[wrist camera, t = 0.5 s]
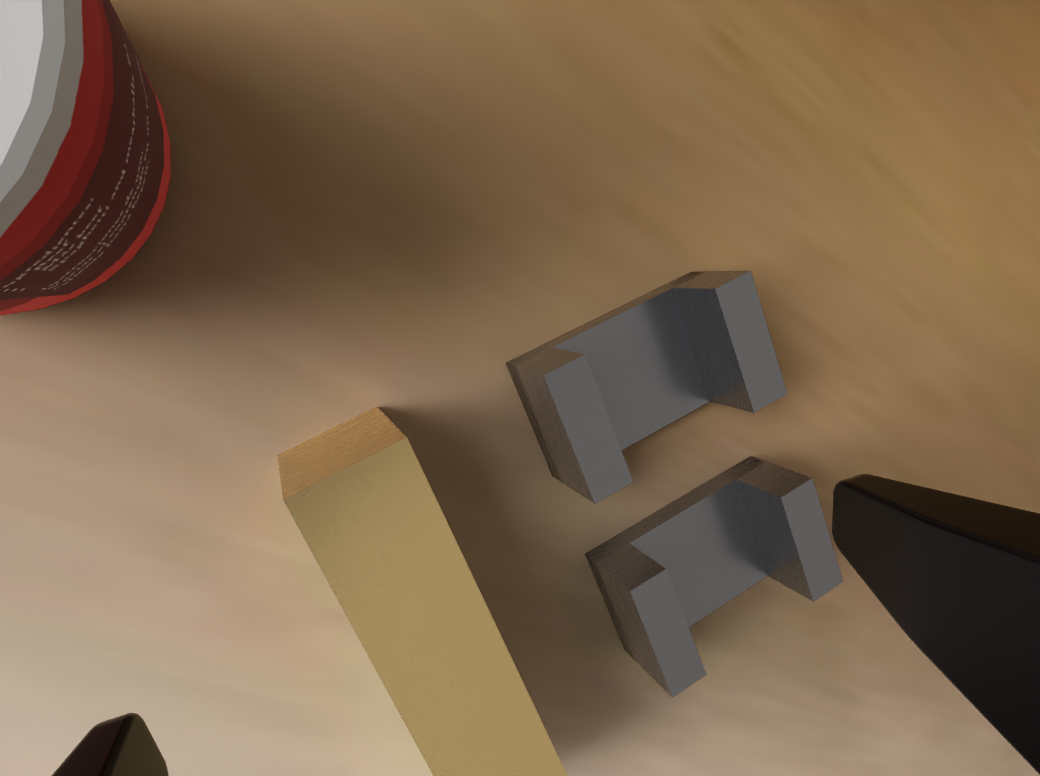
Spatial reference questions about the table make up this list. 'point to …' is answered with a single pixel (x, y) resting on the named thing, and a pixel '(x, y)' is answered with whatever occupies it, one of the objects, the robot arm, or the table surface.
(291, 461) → the tan rectangular block
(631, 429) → the near chain end
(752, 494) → the bracket
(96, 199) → the canned food
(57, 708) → the table surface
